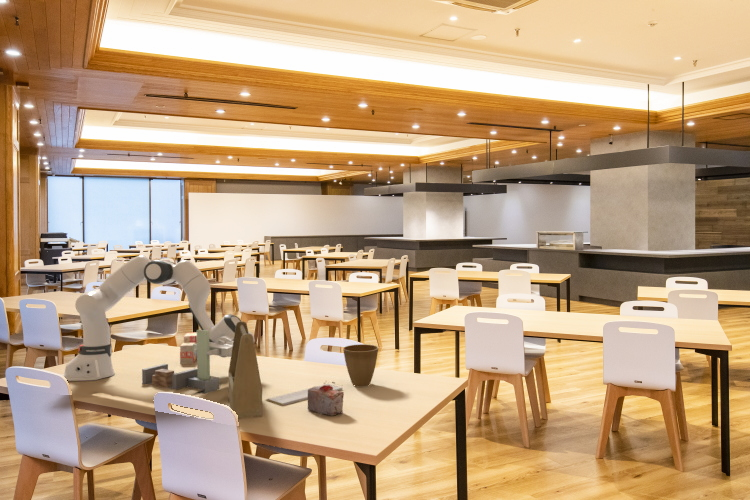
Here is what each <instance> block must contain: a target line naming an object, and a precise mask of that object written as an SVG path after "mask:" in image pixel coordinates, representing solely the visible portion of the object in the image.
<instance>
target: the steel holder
mask: <svg viewBox="0 0 750 500" xmlns="http://www.w3.org/2000/svg"><path fill="white" fill-rule="evenodd" d="M186 388H190V389H196V390H199V391H196V393H199V394H202V395H203V394H204V395H206V394H209V393H212V392H215V391H218V390H220V377H219V376H213V375H210V379H208V380H206V379H200V378H198V376H195V377H191V378H188V379H187V387H186Z"/></svg>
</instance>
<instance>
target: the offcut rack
mask: <svg viewBox="0 0 750 500" xmlns="http://www.w3.org/2000/svg"><path fill="white" fill-rule="evenodd" d="M160 369H166V370H169V363H161V364H158V365H154V366H150V367H146V368H142V370H141V374H142V376H141V378H142V379H141V382H142V385H143V384H144V385H148V386H153V387H154V386H155V385H152V375H155V371H156V370H160ZM195 376H198V374H197V367H196V368H191V369H186V370H183V371H180V372H179V371H178V372H174V374H172V381H173V386H171V387H168V388H166V387H163V388H166V389H169V390H170V389H171V390H180V389H183V388H188V387H187V379H188V378H191V377H195ZM155 387H156V386H155ZM158 387H159V388H162V387H161V386H158Z"/></svg>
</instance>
